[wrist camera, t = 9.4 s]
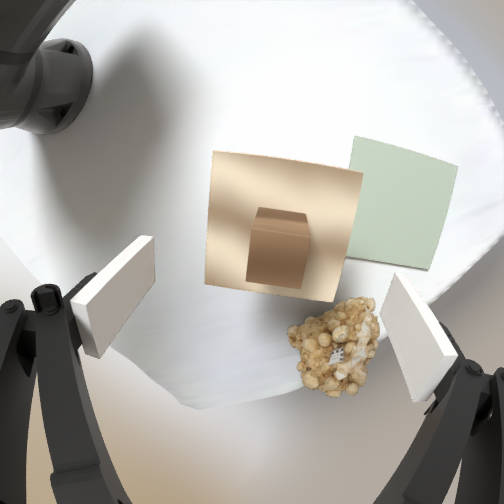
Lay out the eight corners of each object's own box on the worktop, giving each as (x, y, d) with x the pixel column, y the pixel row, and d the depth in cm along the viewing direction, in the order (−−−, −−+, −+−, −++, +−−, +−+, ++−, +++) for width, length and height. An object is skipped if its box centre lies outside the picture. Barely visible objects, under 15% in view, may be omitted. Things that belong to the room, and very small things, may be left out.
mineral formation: (279, 321, 42) (274, 402, 28) (352, 265, 37) (382, 338, 24) (313, 350, 44) (318, 429, 30) (383, 301, 39) (415, 376, 25)
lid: (215, 150, 21) (192, 157, 16) (360, 171, 20) (385, 186, 15) (206, 279, 25) (187, 318, 20) (331, 297, 25) (341, 340, 20)
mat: (354, 135, 31) (355, 135, 30) (456, 165, 30) (457, 166, 30) (331, 252, 37) (331, 253, 36) (427, 267, 36) (429, 269, 36)
